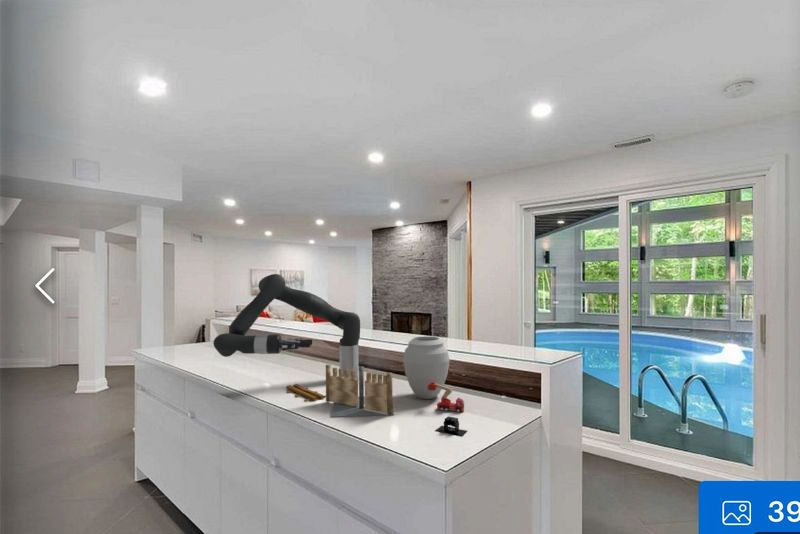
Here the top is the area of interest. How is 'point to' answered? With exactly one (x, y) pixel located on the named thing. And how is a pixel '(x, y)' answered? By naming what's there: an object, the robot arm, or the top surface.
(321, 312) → the robot arm
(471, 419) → the top surface
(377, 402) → the fixed fence
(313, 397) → the decorative fence
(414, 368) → the vase
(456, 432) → the black arched bracket
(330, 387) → the fence panel
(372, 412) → the mat
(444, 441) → the top surface
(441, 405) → the toy fire truck
